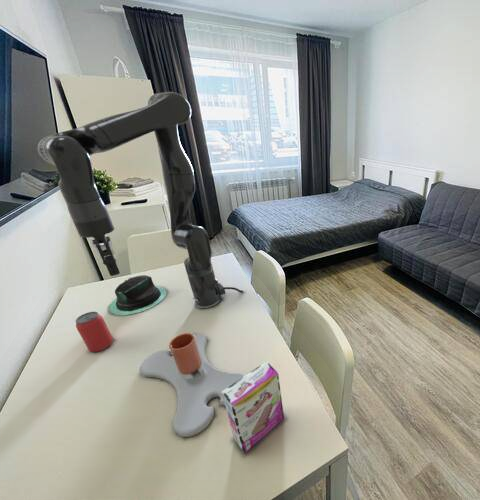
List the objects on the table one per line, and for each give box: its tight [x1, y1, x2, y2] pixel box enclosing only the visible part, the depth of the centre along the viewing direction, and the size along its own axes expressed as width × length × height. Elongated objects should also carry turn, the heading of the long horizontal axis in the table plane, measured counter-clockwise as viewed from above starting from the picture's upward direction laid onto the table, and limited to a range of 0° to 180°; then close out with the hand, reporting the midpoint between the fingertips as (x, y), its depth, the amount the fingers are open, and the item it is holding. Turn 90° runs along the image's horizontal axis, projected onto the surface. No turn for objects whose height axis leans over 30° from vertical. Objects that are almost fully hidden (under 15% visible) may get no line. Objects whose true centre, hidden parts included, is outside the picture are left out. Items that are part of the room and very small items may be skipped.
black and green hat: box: [109, 274, 167, 316], centre depth 113 cm, size 15×19×20 cm
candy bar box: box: [222, 361, 285, 454], centre depth 61 cm, size 11×5×16 cm, turn 136°
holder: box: [139, 332, 245, 438], centre depth 77 cm, size 19×34×5 cm, turn 49°
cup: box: [168, 332, 202, 374], centre depth 73 cm, size 6×6×9 cm
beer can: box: [75, 311, 114, 353], centre depth 87 cm, size 7×7×12 cm
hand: (113, 269), depth 79 cm, fingers open, 8 cm apart
